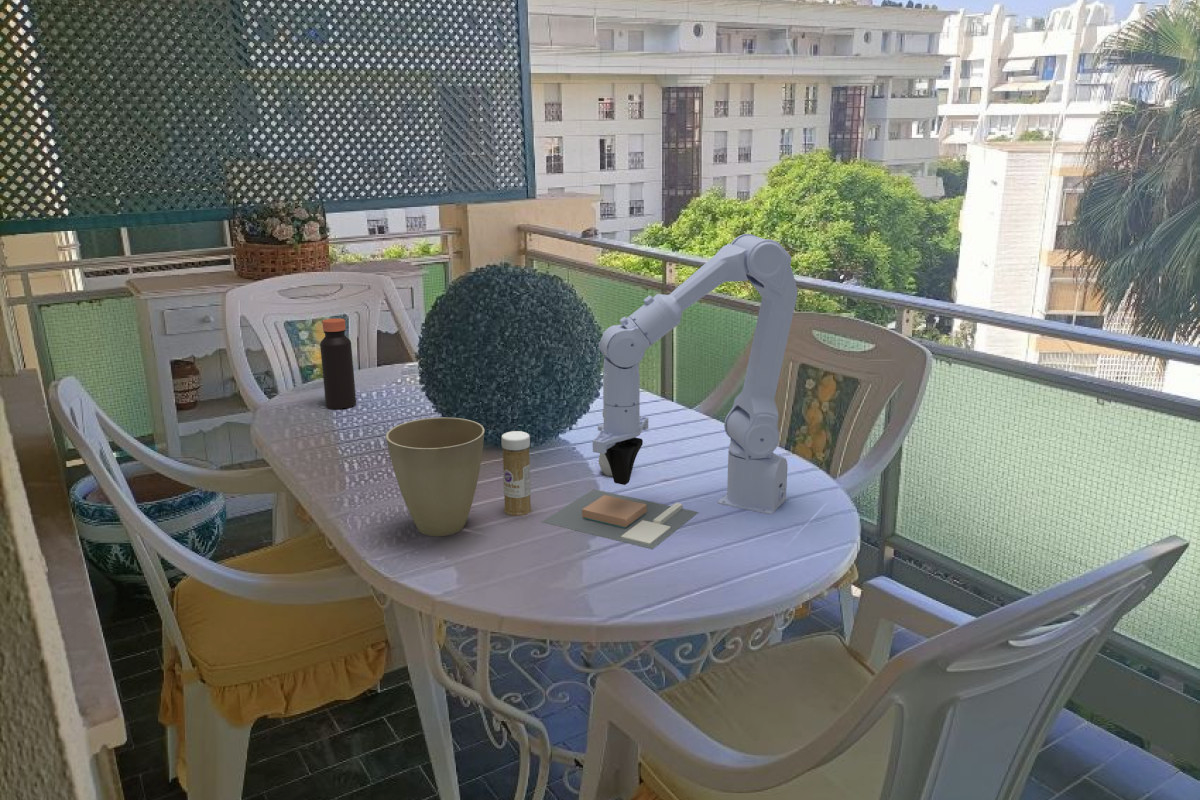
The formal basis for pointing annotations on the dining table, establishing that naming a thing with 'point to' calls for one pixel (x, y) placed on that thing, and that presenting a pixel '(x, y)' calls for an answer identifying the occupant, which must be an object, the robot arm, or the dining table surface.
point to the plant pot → (437, 470)
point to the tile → (614, 511)
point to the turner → (652, 527)
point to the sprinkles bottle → (516, 473)
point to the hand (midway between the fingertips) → (621, 482)
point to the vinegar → (337, 365)
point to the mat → (575, 521)
